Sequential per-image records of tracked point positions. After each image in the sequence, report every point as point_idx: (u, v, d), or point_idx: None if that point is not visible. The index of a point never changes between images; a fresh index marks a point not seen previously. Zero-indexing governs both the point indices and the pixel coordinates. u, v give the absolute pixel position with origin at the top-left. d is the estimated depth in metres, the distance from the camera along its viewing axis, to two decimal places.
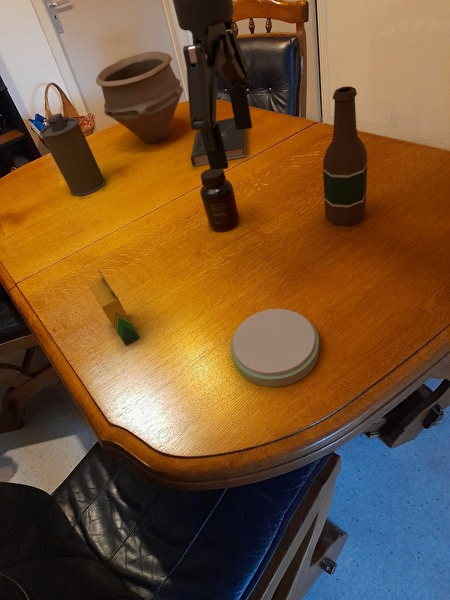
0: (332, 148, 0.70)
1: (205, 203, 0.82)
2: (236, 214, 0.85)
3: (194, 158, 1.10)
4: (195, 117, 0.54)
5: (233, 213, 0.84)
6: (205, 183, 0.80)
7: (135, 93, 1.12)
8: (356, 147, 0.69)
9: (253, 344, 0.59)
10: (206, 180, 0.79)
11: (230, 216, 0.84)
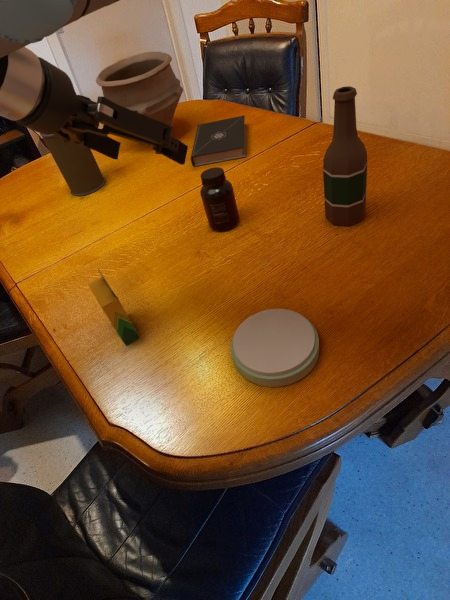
0: (332, 148, 0.70)
1: (205, 203, 0.82)
2: (236, 214, 0.85)
3: (194, 158, 1.10)
4: (161, 136, 0.51)
5: (233, 213, 0.84)
6: (205, 183, 0.80)
7: (135, 93, 1.12)
8: (356, 147, 0.69)
9: (253, 344, 0.59)
10: (206, 180, 0.79)
11: (230, 216, 0.84)
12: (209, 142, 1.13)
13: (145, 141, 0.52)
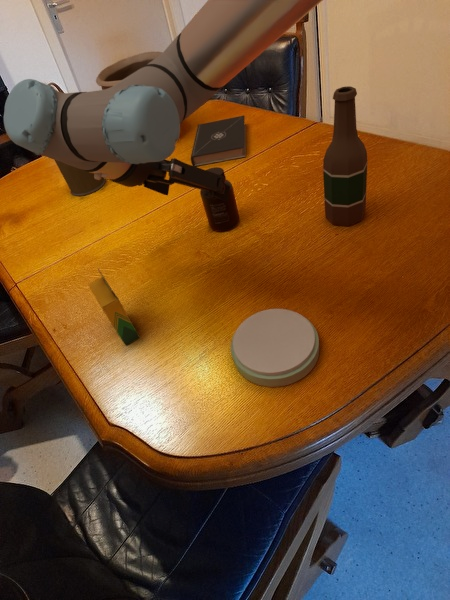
0: (332, 148, 0.70)
1: (205, 203, 0.82)
2: (236, 214, 0.85)
3: (194, 158, 1.10)
4: (215, 184, 0.65)
5: (233, 213, 0.84)
6: None
7: None
8: (356, 147, 0.69)
9: (253, 344, 0.59)
10: None
11: (230, 216, 0.84)
12: (209, 142, 1.13)
13: (202, 187, 0.66)
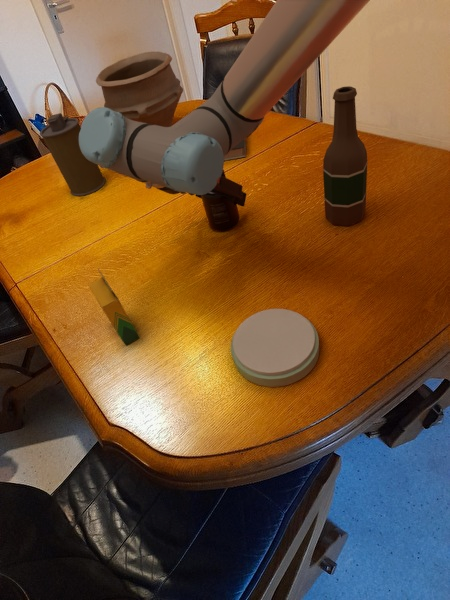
0: (332, 148, 0.70)
1: (205, 203, 0.82)
2: (236, 214, 0.85)
3: None
4: (238, 193, 0.77)
5: (233, 213, 0.84)
6: None
7: (135, 93, 1.12)
8: (356, 147, 0.69)
9: (253, 344, 0.59)
10: None
11: (230, 216, 0.84)
12: None
13: (226, 195, 0.78)
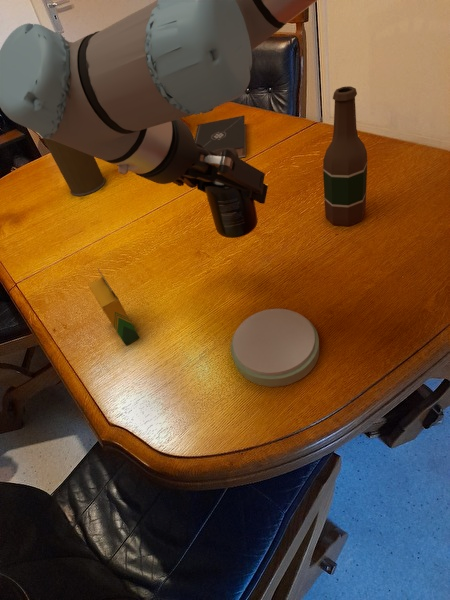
0: (332, 148, 0.70)
1: (211, 199, 0.59)
2: (254, 214, 0.61)
3: None
4: (258, 183, 0.53)
5: (249, 212, 0.60)
6: None
7: None
8: (356, 147, 0.69)
9: (253, 344, 0.59)
10: None
11: (246, 217, 0.60)
12: (209, 142, 1.13)
13: (241, 187, 0.54)
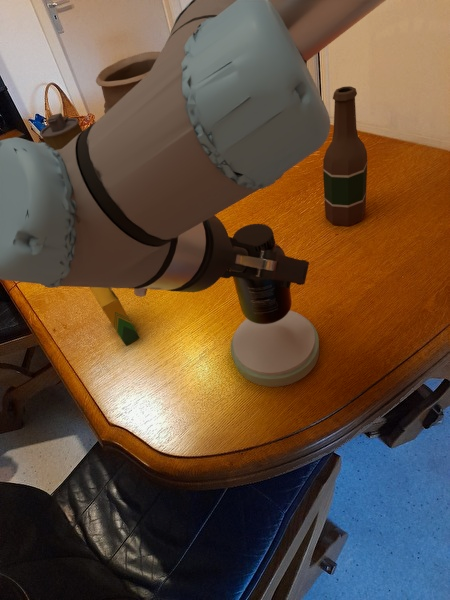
0: (332, 148, 0.70)
1: (239, 283, 0.49)
2: (288, 298, 0.51)
3: None
4: (302, 276, 0.43)
5: (284, 297, 0.50)
6: None
7: None
8: (356, 147, 0.69)
9: (253, 344, 0.59)
10: None
11: (280, 303, 0.50)
12: None
13: None
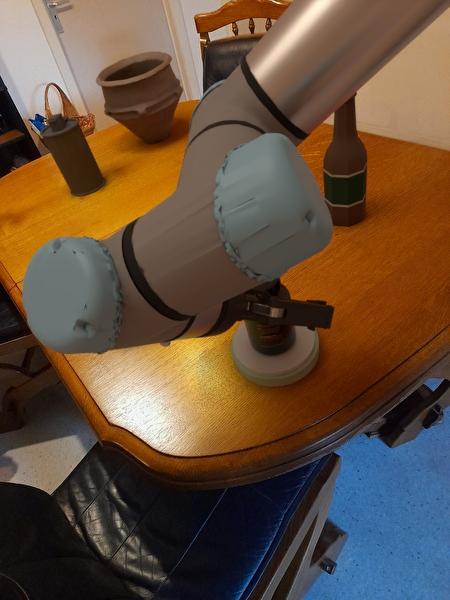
0: (332, 148, 0.70)
1: (248, 321, 0.53)
2: (293, 332, 0.56)
3: None
4: (324, 321, 0.44)
5: (289, 332, 0.55)
6: None
7: (135, 93, 1.12)
8: (356, 147, 0.69)
9: None
10: None
11: (285, 337, 0.55)
12: None
13: None
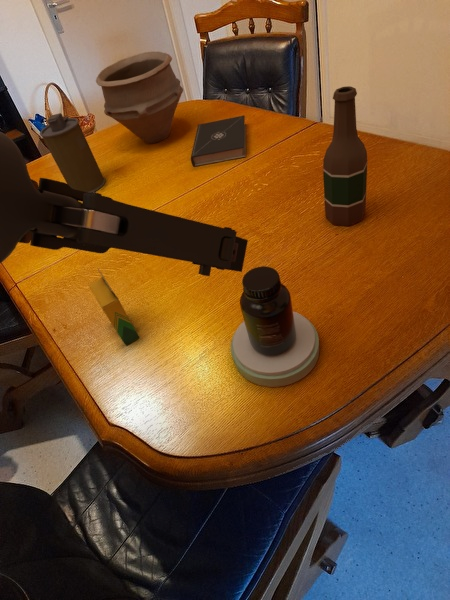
0: (332, 148, 0.70)
1: (248, 321, 0.53)
2: (293, 332, 0.56)
3: (194, 158, 1.10)
4: (216, 253, 0.25)
5: (289, 332, 0.55)
6: (250, 295, 0.51)
7: (135, 93, 1.12)
8: (356, 147, 0.69)
9: None
10: (252, 292, 0.50)
11: (285, 337, 0.55)
12: (209, 142, 1.13)
13: None
